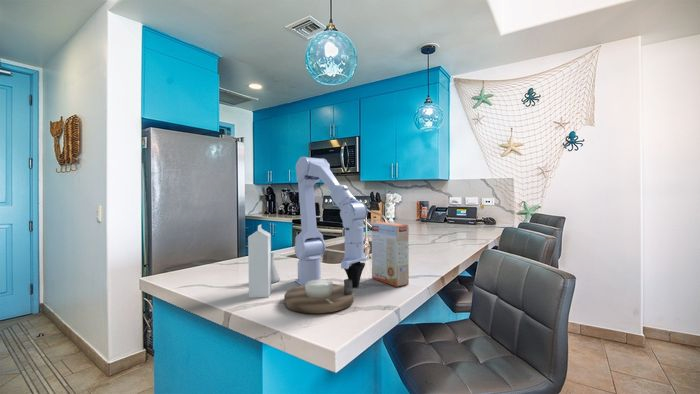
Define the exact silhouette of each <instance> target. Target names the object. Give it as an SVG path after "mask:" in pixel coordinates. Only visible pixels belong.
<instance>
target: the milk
mask: <svg viewBox="0 0 700 394" xmlns="http://www.w3.org/2000/svg"><path fill="white" fill-rule="evenodd" d="M247 241H248V242H247V246H248V247H247V248H248V249H247V251H248V298H249V299H252V298H253V299H256V298H258V299H259V298H269V297H270V296H271V293H272V283H271V253H272V235H271V233H270V232H268V231H267V230H265V229H263V228H262V223H261V224H259V225H257V230H256V231H254V232H253V233H252V234H250V235H249V236H247Z"/></svg>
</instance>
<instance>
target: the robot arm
mask: <svg viewBox="0 0 700 394" xmlns="http://www.w3.org/2000/svg"><path fill="white" fill-rule="evenodd" d="M330 166H331V165H330V163H329V162H328V160H327V159H325V158H323V157H322V158H318V157H307V156H300V157H299V158H298V160H297V162H296V164H295V173H296V181H297V183H298V186H297V188H298V199H299V200H298V201H299V210H300V211H299V212H300V223H301V224H300V225H301V231H300V232H299V233H298V235H296V236H295V243H294V247H293V248H294V254H295V256H296V257H297V259H298V261H297V279H295V281H294V282H297V284H298V285H299V286H303V285H305V283H306V282H308V281H311V280H322V275H321V271H322V269H321V268H322V267H321V263H322V262H321V258H323V255H324V254H325V252H326V243H325V239H324V234H322V233H321V232H320V231H319V230H318V226H317V216H316V212H317V211H316V201H315V190H314V186H315V185H316V183H318V182H319V181H321V182H322V183H323V184H324V186H326V188H328V189H329V190H330V198H331V199H332V200H333V201H334V203H335V204H336V206H337V207H338V209H339V210H340V211H339V216H340V218H341V220H342V226H343V228H344V256H343V259H342V261H341V262H340V268H341V269H343V270H344V271H345V273H346V275H347V279H352V289H359V286H360V282H361V278H362V273H363V270H364V268H365V266H366V261H367V260H368V257H366V256H367V255H366V252H364V244H365V243H364V242H365V241H364V236H365V235H364V233H365V232H364V220H366V218H367V217H368V213H369V212H368V208H367V205H366V203H365V202H363V201H360V200H359V199H357V198H356V197H355V196H354V195H353V194H352V192H351V191H350V190H349V187H348V185H344V184H340V183H339V181H338V179H337V178H336V176H335V175H334V174H333V171H331V167H330ZM364 261H365V262H364Z"/></svg>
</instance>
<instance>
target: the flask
mask: <svg viewBox="0 0 700 394" xmlns="http://www.w3.org/2000/svg"><path fill="white" fill-rule="evenodd" d="M274 256H275V253H273V252H271V284H274V283H277V282H279V281H280V280H281V278H280V276H279V275H280V274H279V272H278V270H277V267H276V265H275V261H274Z"/></svg>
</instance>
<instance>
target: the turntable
mask: <svg viewBox="0 0 700 394" xmlns="http://www.w3.org/2000/svg"><path fill="white" fill-rule="evenodd" d="M283 298H284V306H285V307H286V308H287V309H289V310H291V311H295V312H297V313H303V314H325V313H332V312H337V311H341V310H343V309H347V308H348V307H349V306H351V305H352V304H353V303H354V291H353V288H352V279H348V278H345V279H344V280H343V285H341V284H337V283H336V284H335V283H333V294H332V295H331V296H328V297H324V298H311V297H308V296H306V295H305V285H303V286H301V285H299V286H296V287H293V288H290V289H289V290H287V291H285V293H284V297H283Z"/></svg>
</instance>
